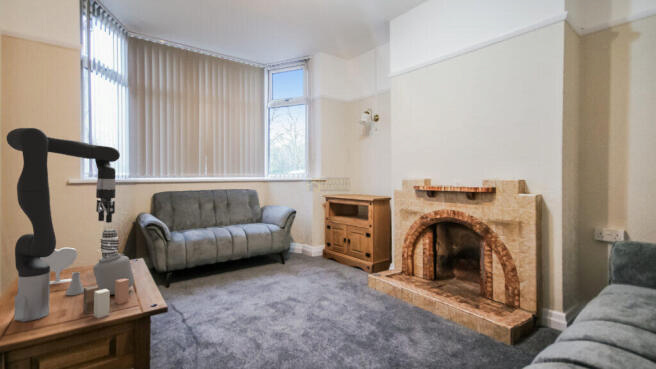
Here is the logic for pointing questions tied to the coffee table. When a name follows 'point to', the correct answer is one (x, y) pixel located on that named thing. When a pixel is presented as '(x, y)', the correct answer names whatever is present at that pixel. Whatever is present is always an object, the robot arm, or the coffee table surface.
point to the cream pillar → (101, 303)
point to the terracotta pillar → (121, 291)
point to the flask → (75, 285)
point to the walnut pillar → (89, 299)
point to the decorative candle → (109, 242)
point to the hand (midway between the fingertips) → (104, 221)
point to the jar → (112, 271)
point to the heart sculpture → (60, 262)
